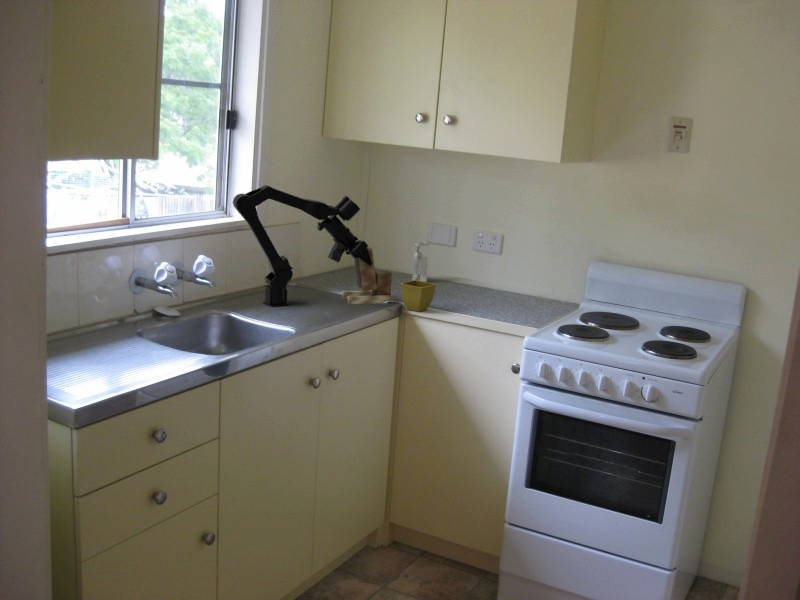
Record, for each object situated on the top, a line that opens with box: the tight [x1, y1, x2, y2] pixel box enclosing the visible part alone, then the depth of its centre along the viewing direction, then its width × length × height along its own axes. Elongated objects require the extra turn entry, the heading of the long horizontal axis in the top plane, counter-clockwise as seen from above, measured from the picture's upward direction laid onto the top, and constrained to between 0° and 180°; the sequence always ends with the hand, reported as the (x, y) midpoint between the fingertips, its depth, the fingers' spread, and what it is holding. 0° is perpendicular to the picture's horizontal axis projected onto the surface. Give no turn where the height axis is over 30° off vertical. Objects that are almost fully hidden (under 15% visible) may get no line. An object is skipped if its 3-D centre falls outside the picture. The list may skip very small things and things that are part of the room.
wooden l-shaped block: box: [341, 270, 395, 305], centre depth 307 cm, size 16×9×10 cm, turn 108°
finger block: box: [354, 246, 377, 292], centre depth 303 cm, size 5×5×14 cm
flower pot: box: [400, 279, 437, 313], centre depth 298 cm, size 9×9×9 cm
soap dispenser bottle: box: [410, 241, 431, 282], centre depth 342 cm, size 7×7×15 cm
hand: (369, 263), depth 303 cm, fingers closed on finger block, 5 cm apart
